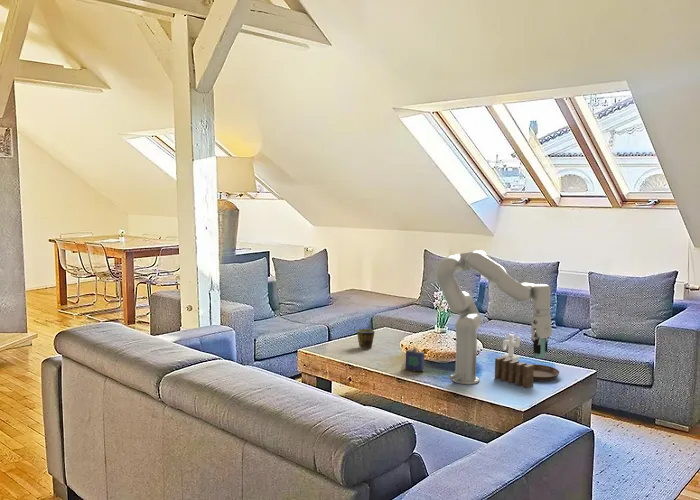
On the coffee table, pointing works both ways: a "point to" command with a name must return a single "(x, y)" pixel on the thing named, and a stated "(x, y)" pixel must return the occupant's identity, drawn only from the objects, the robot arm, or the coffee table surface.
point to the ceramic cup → (365, 338)
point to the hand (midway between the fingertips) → (540, 351)
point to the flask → (414, 360)
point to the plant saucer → (544, 373)
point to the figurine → (511, 347)
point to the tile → (542, 343)
